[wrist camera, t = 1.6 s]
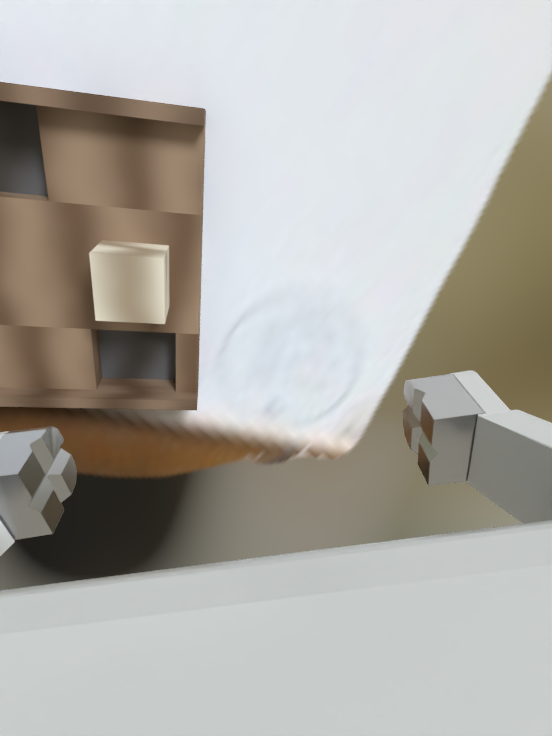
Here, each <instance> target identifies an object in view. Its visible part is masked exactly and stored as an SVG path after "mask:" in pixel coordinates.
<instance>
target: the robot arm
mask: <svg viewBox="0 0 552 736" xmlns="http://www.w3.org/2000/svg"><path fill="white" fill-rule="evenodd" d="M404 397H405V399H406V401H407V403H408V406H407V407H406V408H405V410H404V411H403V426H404V433H405V437H406V440H407V443H408V445H409V447H410V449H411V450H412V451H413V452H415V453H416V454H418V466H419V468H420V470H421V472H422V474H423V476H424V478H425V480H426V482H427V484H428V485H439V484H449V483H458V482H468V484H469V485H470V486H472V487H473V488H475V489H476V490H477V491H479V492H480V493H481V494H483V495H484V496H486V497H487V498H488V499H490V500H491V501H492V502H494V503H495V504H497V505H498V506H499V507H501V508H502V509H504V510H505V511H506V512H508V513H509V514H511V515H512V516H513V517H515V518H516V519H518V520H519V521H520V522H522V523H523V524H518V525H509V526H502V527H493V528H486V529H478V530H471V531H463V532H455V533H447V534H441V535H432V536H425V537H417V538H410V539H402V540H393V541H385V542H377V543H370V544H362V545H354V546H345V547H337V548H329V549H322V550H313V551H306V552H298V553H290V554H282V555H274V556H266V557H258V558H251V559H242V560H234V561H227V562H220V563H211V564H204V565H196V566H188V567H180V568H173V569H165V570H157V571H149V572H141V573H133V574H126V575H118V576H110V577H103V578H94V579H87V580H79V581H71V582H63V583H56V584H47V585H39V586H32V587H24V588H16V589H8V590H1V591H0V736H552V423H550V422H547V421H545V420H542V419H540V418H537V417H535V416H532V415H530V414H527V413H524V412H522V411H519V410H510V409H509V408H508V407H507V406H506V405H505V404H504V403H503V402H502V401H501V400H500V398H498V396H497V395H496V394H495V393H494V392H493V391H492V390H491V389H490V387H489V386H488V385H487V384H486V383H485V382H484V381H483V380H482V379H481V377H480V376H479V375H478V374H477V373H476V372H474V371H472V370H470V371H464V372H458V373H451V374H448V375H441V376H434V377H427V378H421V379H414V380H407V381H406V382H405V386H404ZM63 441H64V439H63V438H62V436H61V434H60V432H59V430H58V429H56V428H54V427H44V428H35V429H25V430H16V431H10V432H0V556H1V555H2V554H3V553H4V552H5V551H6V550H7V549H8V548H9V547H10V546H11V545H12V544H13V543H14V542H15V541H14V540H17V539H23V538H30V537H36V536H42V535H49V534H53V532H54V530H55V528H56V526H57V524H58V522H59V520H60V517H61V515H62V513H63V511H64V508H63V506H62V504H61V502H63V501H64V500H65V499H66V498H67V497H69V496H70V495H71V494H72V491H73V489H74V487H75V484H76V474H77V472H76V467H75V462H74V460H73V458H72V456H71V454H69V453H67V452H66V451H64V450H63V449H61V447H62V444H63Z"/></svg>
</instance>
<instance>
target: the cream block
mask: <svg viewBox="0 0 552 736" xmlns="http://www.w3.org/2000/svg"><path fill="white" fill-rule="evenodd" d="M89 257H90V268H91V278H92V289H93V299H94V310H95V320H96V321H112V322H132V323H152V324H165V322H166V318H167V314H168V310H169V306H170V295H169V245H157V244H144V243H132V242H119V241H106V240H102V241H101V242H100V243H99V244H98V245H97V246H96V247H95V248H94V249H93V250H92V251H91V252H90V253H89Z"/></svg>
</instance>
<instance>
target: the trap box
mask: <svg viewBox="0 0 552 736" xmlns="http://www.w3.org/2000/svg"><path fill="white" fill-rule="evenodd" d="M205 115H206V111H205V109H203V108H195V107H188V106H180V105H172V104H165V103H157V102H149V101H142V100H134V99H127V98H119V97H111V96H104V95H96V94H88V93H81V92H73V91H65V90H58V89H50V88H43V87H35V86H27V85H20V84H12V83H4V82H0V407H51V408H105V409H159V410H197V397H198V372H199V336H200V299H201V262H202V226H203V189H204V152H205ZM102 240H106V241H119V242H132V243H144V244H157V245H169V295H170V306H169V310H168V314H167V318H166V322H165V324H152V323H132V322H112V321H96V320H95V310H94V299H93V289H92V278H91V268H90V257H89V253H90V252H91V251H92V250H93V249H94V248H95V247H96V246H97V245H98V244H99V243H100V242H101V241H102Z"/></svg>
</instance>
